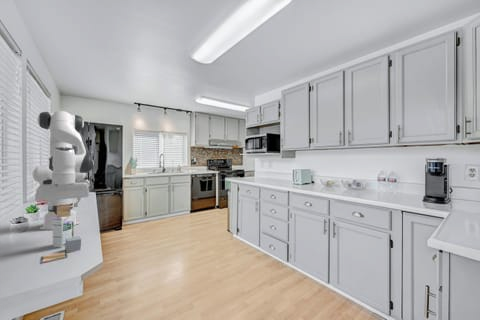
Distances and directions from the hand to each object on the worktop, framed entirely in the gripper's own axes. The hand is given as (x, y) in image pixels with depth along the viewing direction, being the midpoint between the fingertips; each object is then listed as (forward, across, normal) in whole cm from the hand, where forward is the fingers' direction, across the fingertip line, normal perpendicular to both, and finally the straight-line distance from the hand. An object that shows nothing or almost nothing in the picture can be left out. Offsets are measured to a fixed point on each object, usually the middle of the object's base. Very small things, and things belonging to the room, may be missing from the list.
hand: (63, 208), depth 102 cm
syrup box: (+18, 0, 0) cm, 18 cm away
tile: (+18, +3, +15) cm, 24 cm away
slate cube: (+18, -3, +10) cm, 21 cm away
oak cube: (+4, 0, 0) cm, 4 cm away
